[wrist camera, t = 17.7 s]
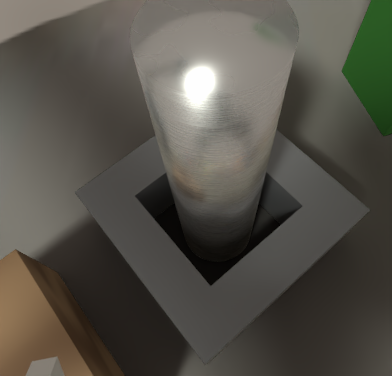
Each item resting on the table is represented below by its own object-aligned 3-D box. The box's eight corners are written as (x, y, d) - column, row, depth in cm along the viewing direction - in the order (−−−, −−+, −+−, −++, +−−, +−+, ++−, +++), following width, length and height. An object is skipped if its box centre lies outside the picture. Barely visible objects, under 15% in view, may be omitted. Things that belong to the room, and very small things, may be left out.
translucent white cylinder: (170, 225, 27) (97, 27, 11) (220, 186, 28) (220, -46, 12) (213, 276, 25) (203, 127, 9) (265, 232, 27) (335, 31, 10)
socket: (97, 219, 28) (74, 192, 23) (224, 125, 31) (225, 85, 26) (207, 364, 23) (204, 364, 19) (344, 236, 26) (370, 209, 22)
